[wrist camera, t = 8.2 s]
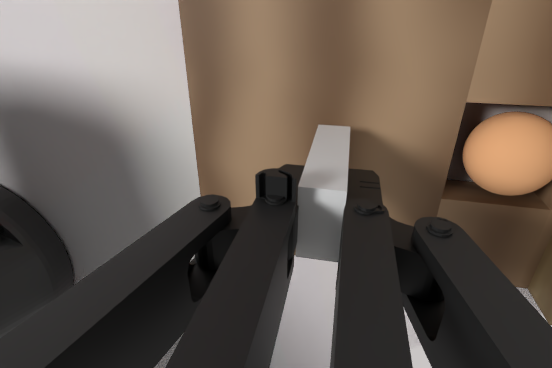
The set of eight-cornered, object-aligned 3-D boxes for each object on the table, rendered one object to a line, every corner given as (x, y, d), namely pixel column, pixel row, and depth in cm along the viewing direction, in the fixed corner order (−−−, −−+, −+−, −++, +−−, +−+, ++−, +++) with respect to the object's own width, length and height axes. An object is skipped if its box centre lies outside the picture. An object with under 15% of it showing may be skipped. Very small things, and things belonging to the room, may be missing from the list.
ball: (438, 176, 19) (489, 214, 15) (456, 103, 17) (519, 128, 13) (503, 171, 19) (567, 207, 16) (527, 101, 17) (606, 124, 14)
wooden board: (219, 221, 25) (189, 267, 20) (198, -19, 18) (145, -28, 13) (565, 267, 20) (621, 336, 16) (713, -27, 13) (880, -45, 9)
